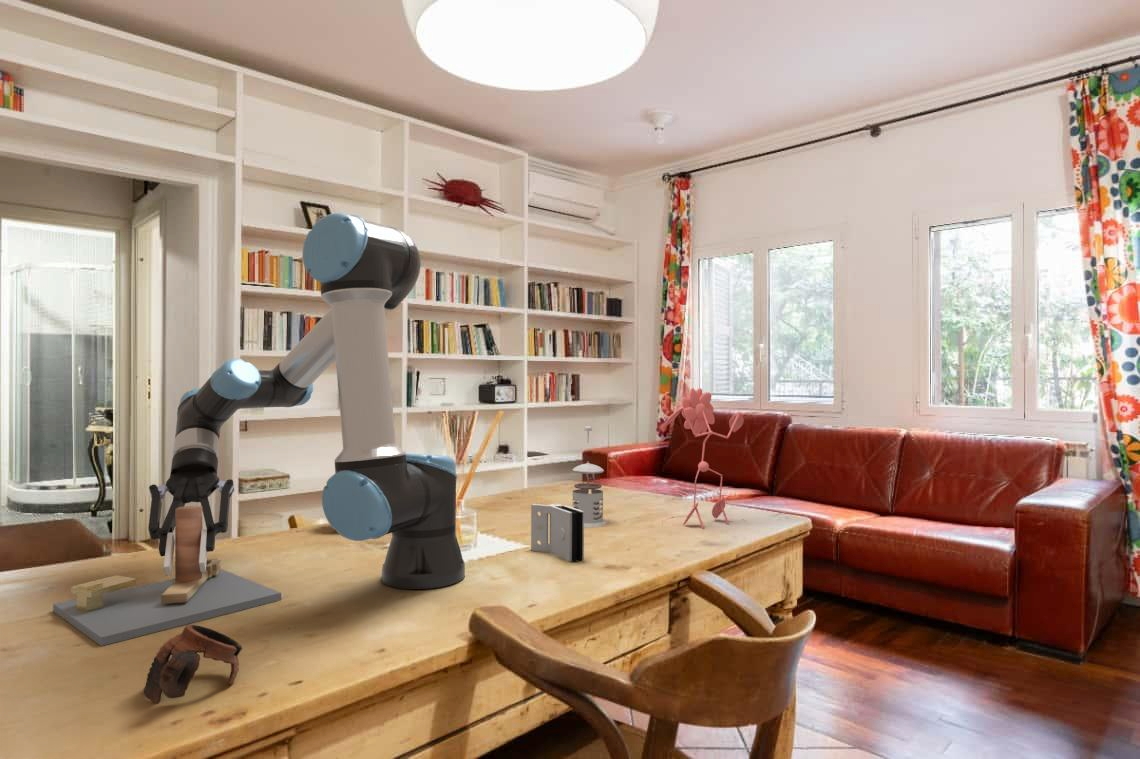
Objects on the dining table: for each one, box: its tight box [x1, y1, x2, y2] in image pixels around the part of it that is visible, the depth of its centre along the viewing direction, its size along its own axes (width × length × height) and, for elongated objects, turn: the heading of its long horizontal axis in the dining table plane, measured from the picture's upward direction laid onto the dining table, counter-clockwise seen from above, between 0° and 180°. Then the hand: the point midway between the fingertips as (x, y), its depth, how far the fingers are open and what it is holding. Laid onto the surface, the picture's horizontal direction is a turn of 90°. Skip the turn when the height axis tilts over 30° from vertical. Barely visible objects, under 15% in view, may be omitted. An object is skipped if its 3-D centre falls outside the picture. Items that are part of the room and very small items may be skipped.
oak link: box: [161, 505, 221, 604], centre depth 118 cm, size 19×6×13 cm, turn 15°
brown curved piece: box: [143, 624, 243, 704], centre depth 82 cm, size 12×10×8 cm
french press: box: [571, 425, 608, 528], centre depth 179 cm, size 10×12×25 cm
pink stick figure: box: [660, 387, 747, 529], centre depth 181 cm, size 15×26×35 cm, turn 126°
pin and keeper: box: [70, 561, 207, 612], centre depth 116 cm, size 5×21×4 cm, turn 156°
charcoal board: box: [52, 568, 282, 647], centre depth 113 cm, size 22×26×1 cm
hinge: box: [530, 503, 585, 563], centre depth 147 cm, size 14×5×10 cm, turn 43°
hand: (185, 568), depth 113 cm, fingers open, 4 cm apart
